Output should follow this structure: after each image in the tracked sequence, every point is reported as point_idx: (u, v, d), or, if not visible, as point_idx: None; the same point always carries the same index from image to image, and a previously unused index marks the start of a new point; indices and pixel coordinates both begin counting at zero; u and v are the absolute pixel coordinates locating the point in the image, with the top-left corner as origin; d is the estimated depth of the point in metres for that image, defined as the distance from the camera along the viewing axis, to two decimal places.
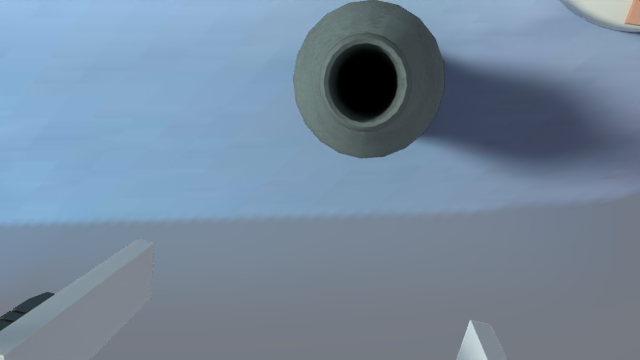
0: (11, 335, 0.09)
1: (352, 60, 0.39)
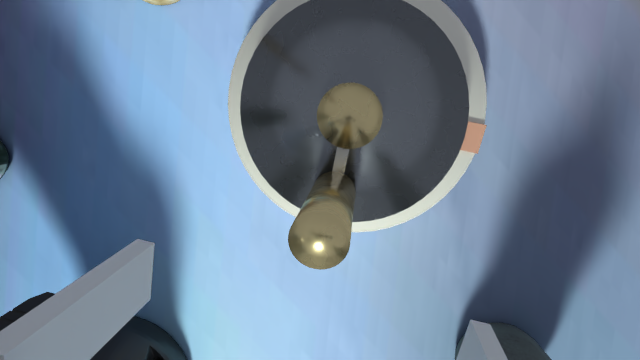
0: (11, 335, 0.09)
1: None
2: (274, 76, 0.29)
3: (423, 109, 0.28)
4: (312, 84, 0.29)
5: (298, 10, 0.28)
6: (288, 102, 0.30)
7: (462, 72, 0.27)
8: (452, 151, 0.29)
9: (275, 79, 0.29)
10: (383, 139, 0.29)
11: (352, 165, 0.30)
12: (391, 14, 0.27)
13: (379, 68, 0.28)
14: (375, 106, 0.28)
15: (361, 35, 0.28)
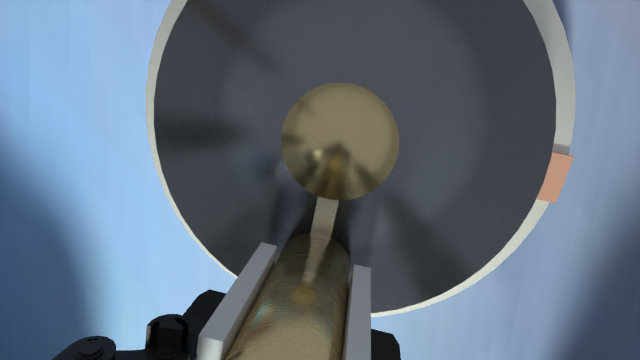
0: (218, 325, 0.11)
1: None
2: (209, 71, 0.17)
3: (471, 130, 0.16)
4: (274, 85, 0.17)
5: None
6: (234, 117, 0.17)
7: (546, 64, 0.15)
8: (520, 204, 0.16)
9: (210, 76, 0.17)
10: (398, 181, 0.17)
11: (344, 223, 0.18)
12: None
13: (394, 57, 0.16)
14: (386, 126, 0.15)
15: None
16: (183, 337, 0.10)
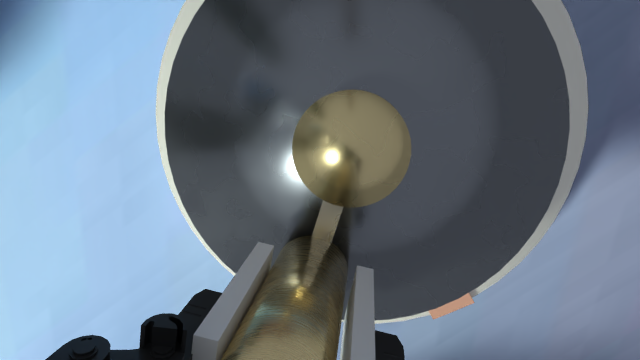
0: (213, 324, 0.11)
1: None
2: (226, 64, 0.17)
3: (483, 150, 0.16)
4: (291, 85, 0.16)
5: None
6: (247, 113, 0.17)
7: (564, 93, 0.15)
8: (523, 228, 0.17)
9: (227, 70, 0.17)
10: (405, 193, 0.17)
11: (346, 230, 0.18)
12: None
13: (413, 69, 0.16)
14: (399, 138, 0.15)
15: (387, 6, 0.15)
16: (178, 336, 0.10)
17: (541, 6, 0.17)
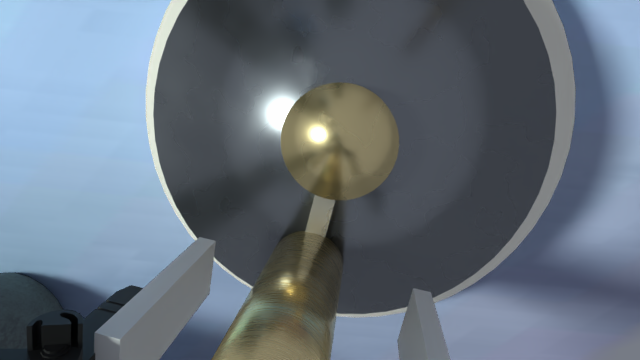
0: (120, 322, 0.11)
1: None
2: (212, 63, 0.17)
3: (471, 138, 0.16)
4: (277, 81, 0.16)
5: None
6: (235, 111, 0.17)
7: (549, 76, 0.15)
8: (515, 213, 0.17)
9: (213, 69, 0.17)
10: (396, 184, 0.17)
11: (339, 223, 0.18)
12: None
13: (398, 60, 0.16)
14: (386, 129, 0.15)
15: None
16: (73, 332, 0.10)
17: None
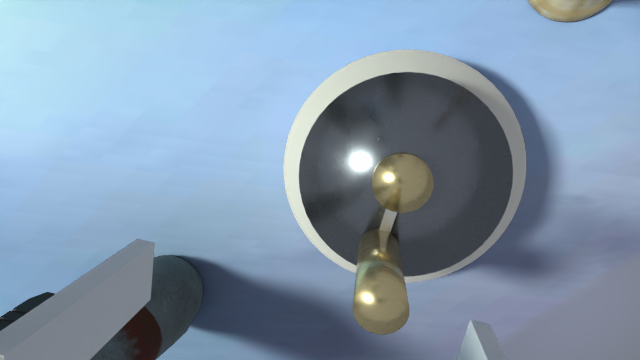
0: (11, 335, 0.09)
1: None
2: (334, 139, 0.32)
3: (470, 182, 0.31)
4: (369, 150, 0.32)
5: (363, 84, 0.30)
6: (345, 164, 0.32)
7: (509, 153, 0.30)
8: (493, 221, 0.32)
9: (335, 142, 0.32)
10: (430, 205, 0.32)
11: (398, 225, 0.33)
12: (449, 96, 0.30)
13: (433, 142, 0.31)
14: (427, 177, 0.30)
15: (419, 112, 0.30)
16: None
17: (514, 190, 0.33)
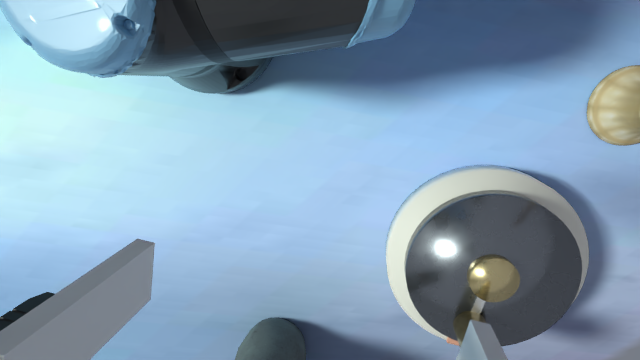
0: (11, 335, 0.09)
1: None
2: (438, 243, 0.40)
3: (546, 277, 0.39)
4: (465, 252, 0.40)
5: (464, 204, 0.38)
6: (445, 262, 0.40)
7: (579, 257, 0.38)
8: (564, 307, 0.40)
9: (438, 246, 0.40)
10: (513, 293, 0.40)
11: (486, 308, 0.41)
12: (533, 214, 0.38)
13: (518, 247, 0.39)
14: (515, 276, 0.38)
15: (508, 225, 0.38)
16: None
17: None
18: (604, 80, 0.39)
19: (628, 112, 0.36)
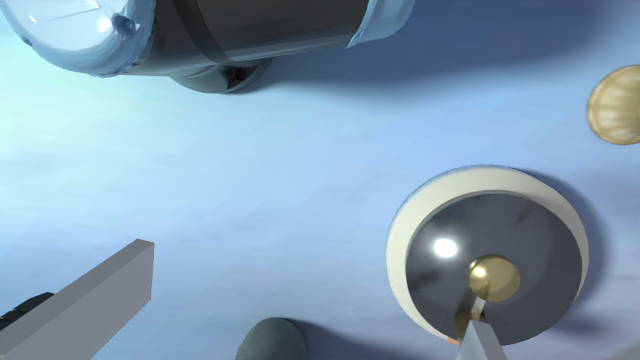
0: (11, 335, 0.09)
1: None
2: (438, 243, 0.40)
3: (547, 277, 0.39)
4: (466, 252, 0.40)
5: (464, 203, 0.38)
6: (445, 262, 0.40)
7: (579, 256, 0.38)
8: (564, 306, 0.40)
9: (438, 245, 0.40)
10: (513, 293, 0.40)
11: (486, 308, 0.41)
12: (533, 214, 0.38)
13: (518, 247, 0.39)
14: (515, 276, 0.38)
15: (508, 225, 0.38)
16: None
17: None
18: (604, 80, 0.39)
19: (628, 112, 0.36)
